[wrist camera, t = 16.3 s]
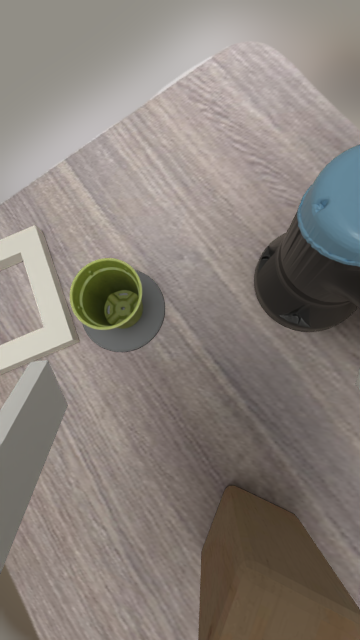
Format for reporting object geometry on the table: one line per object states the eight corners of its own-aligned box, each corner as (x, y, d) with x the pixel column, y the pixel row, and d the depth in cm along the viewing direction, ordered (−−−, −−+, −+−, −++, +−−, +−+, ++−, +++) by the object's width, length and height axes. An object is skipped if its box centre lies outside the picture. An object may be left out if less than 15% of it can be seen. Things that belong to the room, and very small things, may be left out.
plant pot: (93, 342, 47) (69, 333, 39) (92, 283, 49) (69, 261, 41) (155, 337, 47) (144, 326, 38) (151, 277, 48) (140, 254, 40)
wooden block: (198, 555, 41) (190, 712, 21) (227, 480, 42) (243, 561, 23) (272, 594, 39) (337, 802, 20) (299, 514, 41) (383, 634, 21)
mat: (147, 257, 50) (146, 256, 49) (177, 332, 47) (177, 331, 46) (71, 289, 50) (70, 288, 49) (97, 365, 47) (96, 365, 46)
